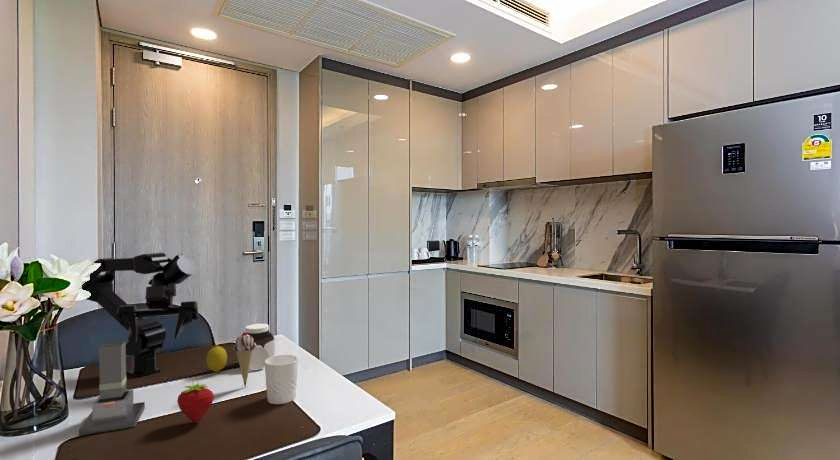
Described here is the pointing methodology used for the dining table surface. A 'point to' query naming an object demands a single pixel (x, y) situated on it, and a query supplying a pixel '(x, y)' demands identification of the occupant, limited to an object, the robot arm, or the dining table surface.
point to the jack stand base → (112, 414)
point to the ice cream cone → (244, 353)
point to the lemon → (216, 359)
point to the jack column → (112, 369)
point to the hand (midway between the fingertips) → (155, 340)
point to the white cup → (281, 378)
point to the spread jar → (261, 345)
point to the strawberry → (195, 401)
